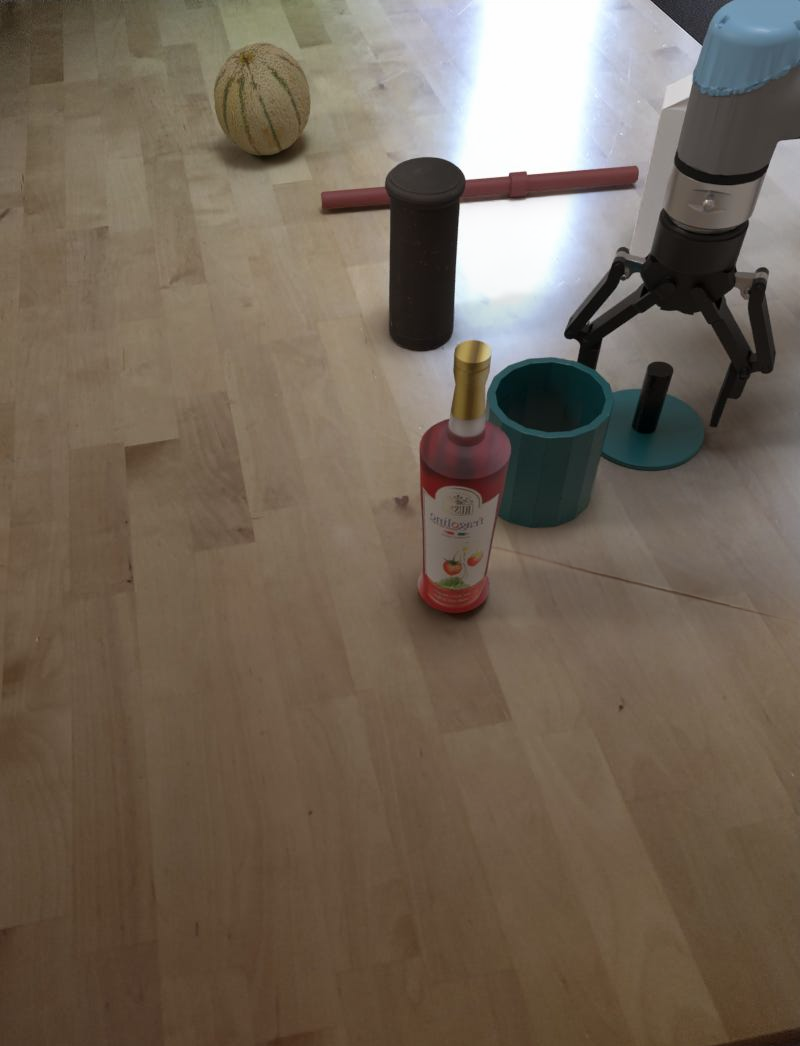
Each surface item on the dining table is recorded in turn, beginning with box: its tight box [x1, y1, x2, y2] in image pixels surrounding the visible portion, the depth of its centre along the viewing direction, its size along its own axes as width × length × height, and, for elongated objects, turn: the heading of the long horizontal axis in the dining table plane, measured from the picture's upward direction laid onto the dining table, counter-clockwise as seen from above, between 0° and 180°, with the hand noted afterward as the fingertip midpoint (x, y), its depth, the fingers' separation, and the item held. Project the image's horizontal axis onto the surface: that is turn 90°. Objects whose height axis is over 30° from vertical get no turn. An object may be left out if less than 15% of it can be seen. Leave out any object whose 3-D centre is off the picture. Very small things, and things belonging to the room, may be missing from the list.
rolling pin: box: [320, 165, 640, 210], centre depth 128 cm, size 45×3×3 cm, turn 92°
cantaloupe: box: [213, 42, 312, 156], centre depth 136 cm, size 15×15×15 cm
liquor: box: [417, 339, 511, 614], centre depth 76 cm, size 7×7×28 cm
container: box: [384, 156, 467, 351], centre depth 104 cm, size 9×9×20 cm
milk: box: [629, 73, 693, 258], centre depth 110 cm, size 6×6×22 cm
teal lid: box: [601, 360, 706, 471], centre depth 95 cm, size 13×13×9 cm
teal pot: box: [485, 356, 615, 529], centre depth 90 cm, size 12×12×12 cm
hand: (648, 406), depth 95 cm, fingers open, 13 cm apart
